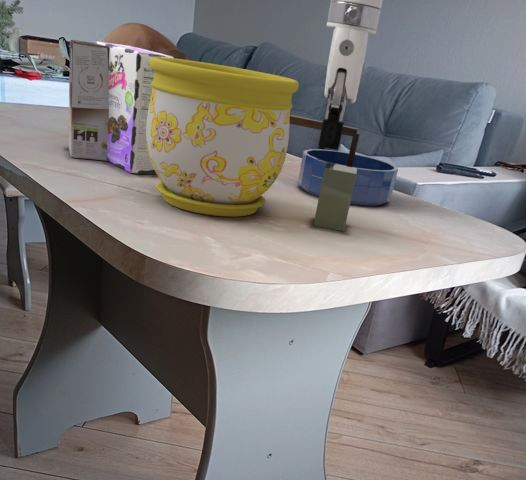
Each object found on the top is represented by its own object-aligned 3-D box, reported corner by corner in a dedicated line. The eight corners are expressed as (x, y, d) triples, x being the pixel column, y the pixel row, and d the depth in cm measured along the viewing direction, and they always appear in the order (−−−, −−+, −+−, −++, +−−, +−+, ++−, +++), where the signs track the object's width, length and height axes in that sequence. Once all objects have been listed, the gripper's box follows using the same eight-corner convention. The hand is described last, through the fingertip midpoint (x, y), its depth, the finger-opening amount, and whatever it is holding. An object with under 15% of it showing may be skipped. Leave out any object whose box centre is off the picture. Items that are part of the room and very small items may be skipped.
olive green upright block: (345, 223, 83) (357, 168, 80) (344, 231, 79) (356, 173, 76) (316, 218, 83) (326, 162, 80) (313, 225, 79) (324, 167, 76)
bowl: (388, 193, 107) (395, 161, 105) (390, 212, 93) (399, 176, 91) (302, 177, 108) (308, 145, 106) (292, 194, 94) (299, 157, 92)
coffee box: (113, 162, 96) (118, 48, 88) (70, 158, 93) (71, 41, 86) (107, 150, 103) (111, 44, 96) (67, 146, 101) (68, 38, 94)
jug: (90, 151, 100) (232, 182, 121) (126, 26, 91) (273, 82, 112) (47, 103, 112) (183, 139, 132) (76, -11, 103) (217, 46, 123)
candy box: (91, 153, 99) (95, 39, 92) (125, 154, 102) (131, 45, 95) (129, 174, 90) (136, 49, 82) (165, 174, 93) (175, 55, 86)
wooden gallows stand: (360, 183, 104) (373, 130, 100) (359, 188, 99) (373, 133, 96) (276, 166, 105) (286, 112, 101) (272, 170, 100) (282, 115, 96)
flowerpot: (282, 201, 89) (302, 79, 82) (270, 233, 73) (294, 84, 66) (160, 179, 90) (170, 56, 82) (122, 206, 74) (130, 56, 66)
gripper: (378, 20, 84) (350, 158, 93) (377, 26, 98) (352, 145, 106) (324, 11, 85) (301, 149, 93) (331, 19, 99) (309, 137, 107)
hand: (328, 146), depth 100 cm, fingers closed on wooden gallows stand, 1 cm apart
